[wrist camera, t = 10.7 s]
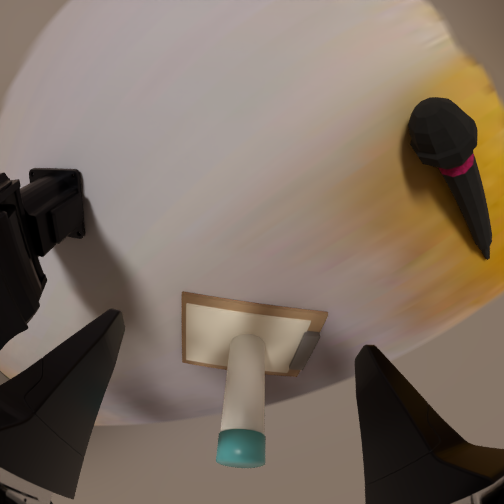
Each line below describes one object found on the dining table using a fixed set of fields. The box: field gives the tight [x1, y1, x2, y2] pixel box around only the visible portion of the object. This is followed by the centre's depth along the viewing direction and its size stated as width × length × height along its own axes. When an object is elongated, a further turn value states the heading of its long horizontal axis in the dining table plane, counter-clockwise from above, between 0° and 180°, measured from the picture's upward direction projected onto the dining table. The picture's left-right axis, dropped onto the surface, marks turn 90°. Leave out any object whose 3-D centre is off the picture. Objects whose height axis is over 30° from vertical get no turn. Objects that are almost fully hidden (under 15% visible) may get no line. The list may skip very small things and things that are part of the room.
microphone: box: [408, 97, 492, 260], centre depth 17 cm, size 6×6×20 cm
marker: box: [216, 334, 265, 468], centre depth 22 cm, size 4×4×13 cm
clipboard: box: [182, 292, 328, 377], centre depth 28 cm, size 14×11×1 cm
